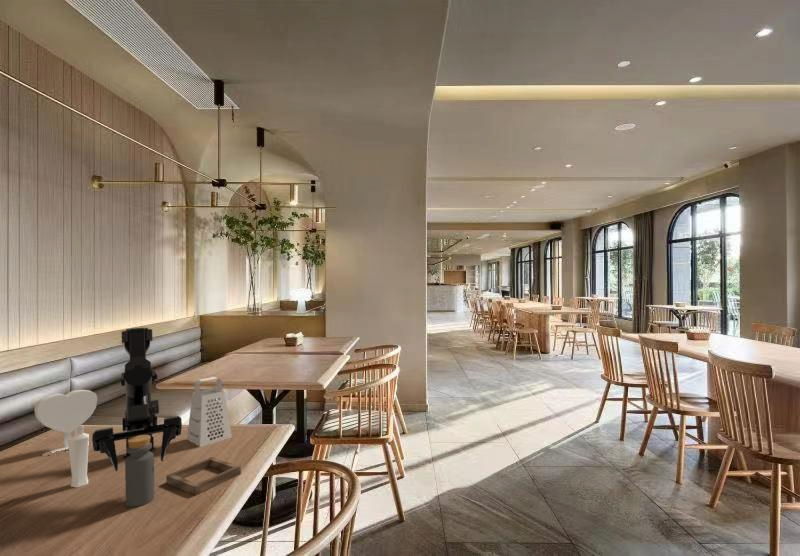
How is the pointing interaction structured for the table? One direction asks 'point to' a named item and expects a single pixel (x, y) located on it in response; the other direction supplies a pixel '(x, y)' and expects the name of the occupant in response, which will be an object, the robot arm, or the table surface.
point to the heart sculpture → (65, 411)
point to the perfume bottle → (79, 457)
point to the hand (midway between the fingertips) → (139, 465)
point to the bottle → (139, 471)
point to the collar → (191, 487)
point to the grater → (208, 415)
